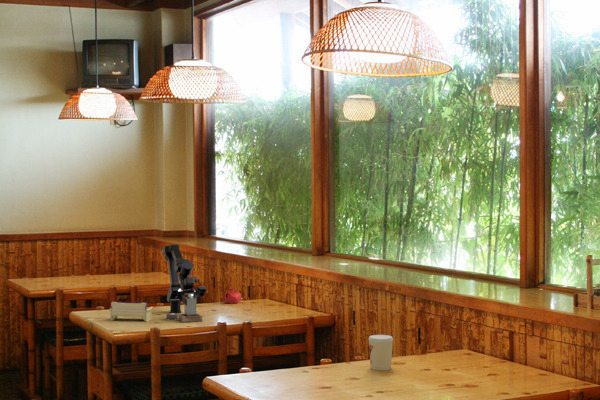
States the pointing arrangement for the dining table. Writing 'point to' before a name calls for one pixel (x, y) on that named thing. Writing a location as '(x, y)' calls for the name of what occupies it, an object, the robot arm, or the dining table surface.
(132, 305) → the toy sofa
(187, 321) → the chassis bay
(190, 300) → the grey square bottle
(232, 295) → the pomegranate
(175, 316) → the rubber wheel
